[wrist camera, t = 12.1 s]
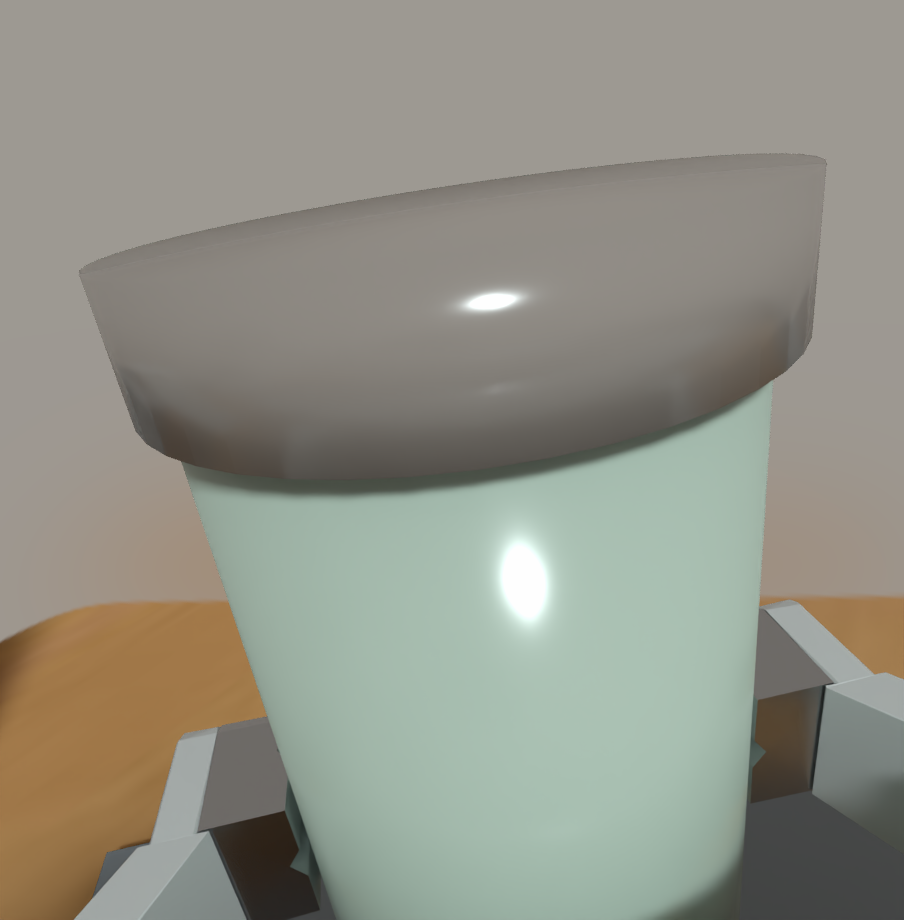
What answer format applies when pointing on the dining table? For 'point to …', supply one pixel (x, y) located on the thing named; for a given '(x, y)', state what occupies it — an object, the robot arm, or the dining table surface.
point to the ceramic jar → (493, 515)
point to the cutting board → (774, 866)
